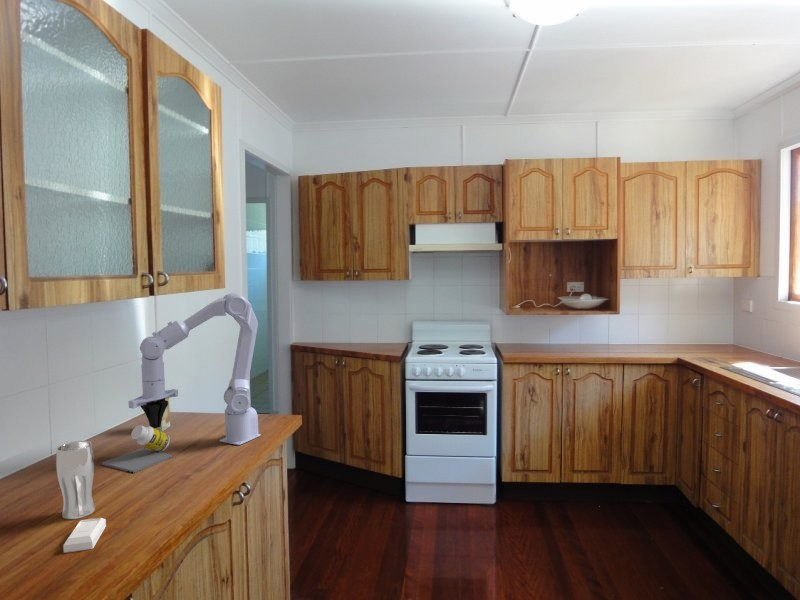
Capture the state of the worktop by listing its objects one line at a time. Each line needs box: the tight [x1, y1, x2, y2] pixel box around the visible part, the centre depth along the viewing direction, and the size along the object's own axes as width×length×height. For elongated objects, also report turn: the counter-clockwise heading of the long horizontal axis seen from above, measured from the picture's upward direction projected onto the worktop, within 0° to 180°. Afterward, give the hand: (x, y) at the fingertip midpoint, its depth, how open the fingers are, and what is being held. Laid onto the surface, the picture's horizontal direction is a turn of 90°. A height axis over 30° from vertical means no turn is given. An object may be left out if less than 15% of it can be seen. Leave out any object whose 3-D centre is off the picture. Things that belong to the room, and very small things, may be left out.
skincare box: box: [148, 389, 171, 432], centre depth 173 cm, size 6×4×12 cm
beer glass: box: [55, 440, 96, 520], centre depth 116 cm, size 7×7×15 cm
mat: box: [101, 447, 173, 474], centre depth 146 cm, size 12×13×1 cm
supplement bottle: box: [130, 424, 171, 453], centre depth 149 cm, size 5×5×10 cm
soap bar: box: [62, 517, 107, 554], centre depth 106 cm, size 5×9×3 cm, turn 14°
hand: (155, 427), depth 151 cm, fingers closed
